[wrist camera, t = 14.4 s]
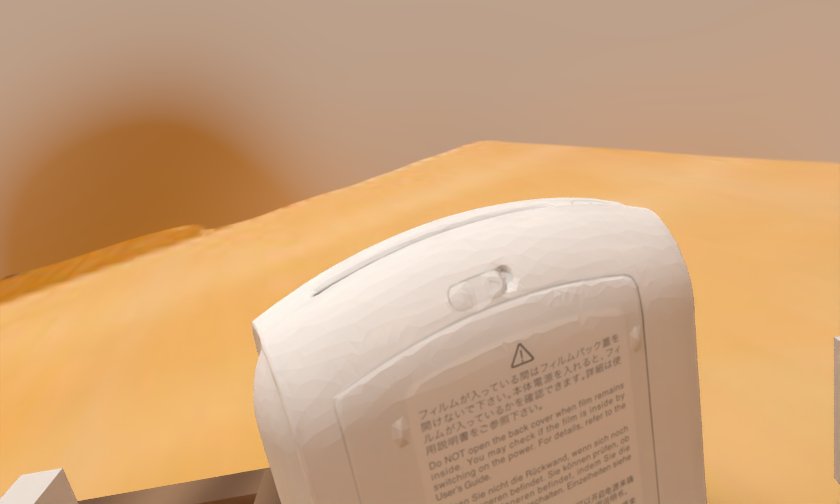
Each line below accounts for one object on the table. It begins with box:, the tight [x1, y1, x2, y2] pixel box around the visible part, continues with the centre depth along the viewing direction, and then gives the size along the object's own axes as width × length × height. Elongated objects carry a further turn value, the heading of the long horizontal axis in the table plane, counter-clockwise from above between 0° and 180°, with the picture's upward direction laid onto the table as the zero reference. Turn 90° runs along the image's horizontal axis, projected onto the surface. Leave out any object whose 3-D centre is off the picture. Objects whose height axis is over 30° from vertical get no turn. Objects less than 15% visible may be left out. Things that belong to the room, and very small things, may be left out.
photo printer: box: [252, 198, 707, 504], centre depth 16 cm, size 10×4×12 cm, turn 114°
